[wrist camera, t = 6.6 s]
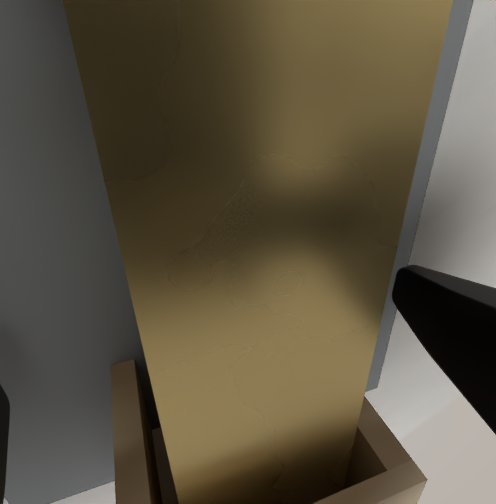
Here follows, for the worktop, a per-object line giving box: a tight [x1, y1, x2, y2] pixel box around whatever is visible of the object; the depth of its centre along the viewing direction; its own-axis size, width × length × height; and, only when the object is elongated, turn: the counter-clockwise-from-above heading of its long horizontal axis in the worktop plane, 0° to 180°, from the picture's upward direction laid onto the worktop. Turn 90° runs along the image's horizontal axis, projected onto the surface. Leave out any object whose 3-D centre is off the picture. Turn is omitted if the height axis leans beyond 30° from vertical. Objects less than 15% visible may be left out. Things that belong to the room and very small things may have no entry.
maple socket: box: [110, 359, 427, 504], centre depth 9 cm, size 6×4×5 cm
